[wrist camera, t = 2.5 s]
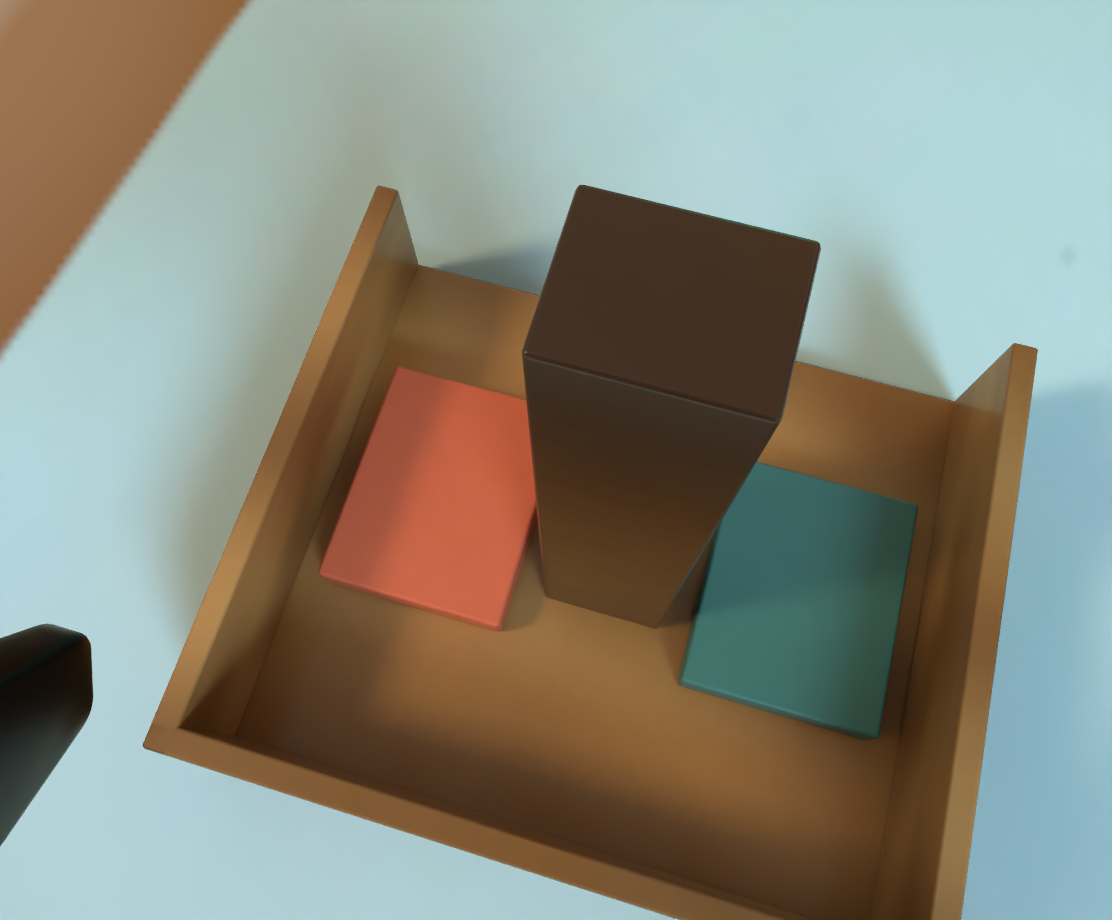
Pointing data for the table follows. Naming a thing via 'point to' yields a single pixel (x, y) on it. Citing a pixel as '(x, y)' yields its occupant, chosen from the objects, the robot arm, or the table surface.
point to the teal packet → (802, 601)
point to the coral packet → (439, 502)
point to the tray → (616, 584)
